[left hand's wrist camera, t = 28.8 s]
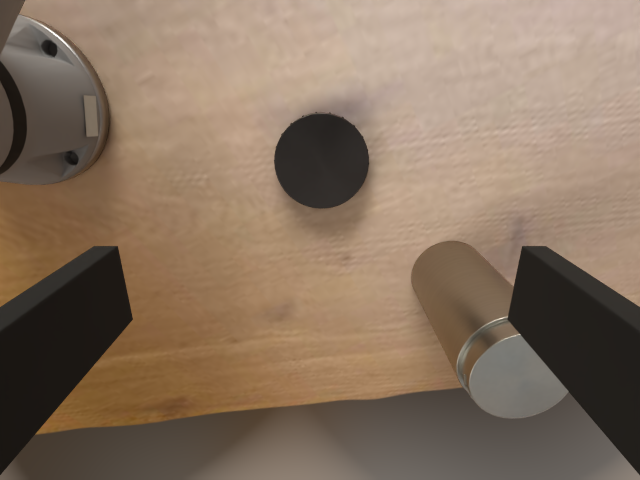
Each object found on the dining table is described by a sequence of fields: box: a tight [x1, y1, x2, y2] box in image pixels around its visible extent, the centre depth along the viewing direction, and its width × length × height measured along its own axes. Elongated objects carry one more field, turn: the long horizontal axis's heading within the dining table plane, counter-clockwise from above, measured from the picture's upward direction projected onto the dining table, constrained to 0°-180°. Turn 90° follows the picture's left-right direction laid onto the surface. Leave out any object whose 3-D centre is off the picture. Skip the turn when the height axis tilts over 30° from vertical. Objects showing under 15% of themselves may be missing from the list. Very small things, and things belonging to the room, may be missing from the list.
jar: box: [411, 241, 569, 418], centre depth 35 cm, size 8×8×17 cm
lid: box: [274, 112, 369, 208], centre depth 37 cm, size 9×9×2 cm
